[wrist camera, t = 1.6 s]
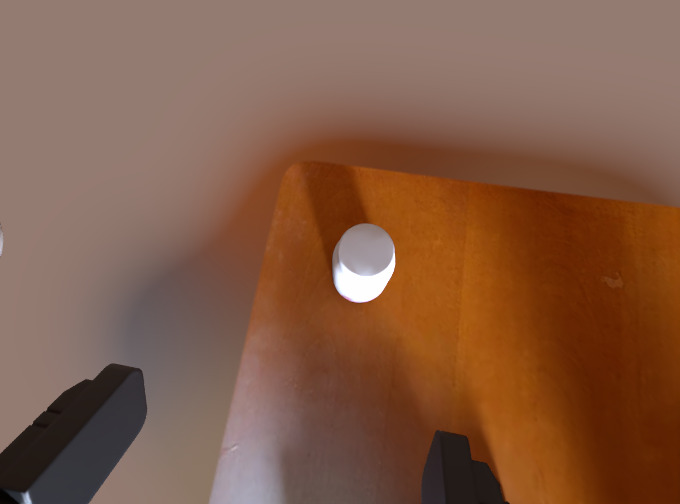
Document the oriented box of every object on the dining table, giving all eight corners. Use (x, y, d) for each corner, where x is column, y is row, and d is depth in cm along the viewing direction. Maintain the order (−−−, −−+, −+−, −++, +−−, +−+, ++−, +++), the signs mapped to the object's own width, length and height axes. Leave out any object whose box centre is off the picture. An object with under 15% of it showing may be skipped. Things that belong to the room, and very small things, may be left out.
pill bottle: (397, 278, 37) (414, 253, 28) (357, 314, 36) (364, 298, 28) (360, 240, 37) (368, 205, 29) (321, 274, 37) (317, 247, 28)
